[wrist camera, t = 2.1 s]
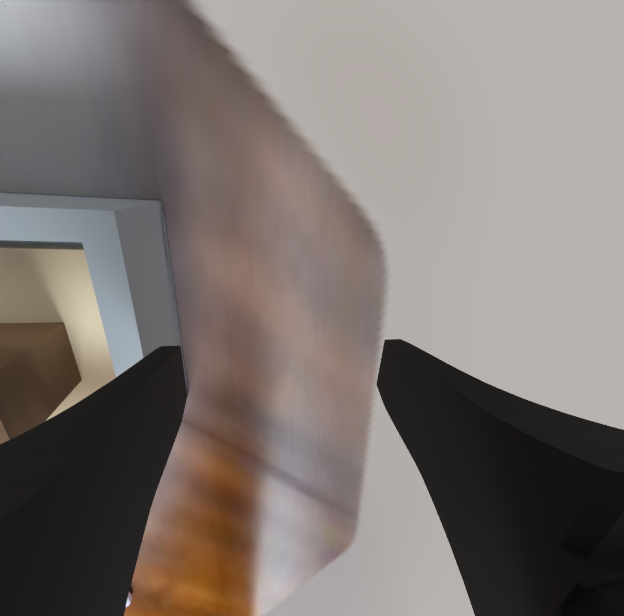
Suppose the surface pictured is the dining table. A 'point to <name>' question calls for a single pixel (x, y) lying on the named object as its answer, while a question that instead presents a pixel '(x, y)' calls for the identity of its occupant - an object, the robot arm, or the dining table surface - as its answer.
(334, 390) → the dining table surface
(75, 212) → the box
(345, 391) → the dining table surface
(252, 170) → the dining table surface
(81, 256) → the cover plate
